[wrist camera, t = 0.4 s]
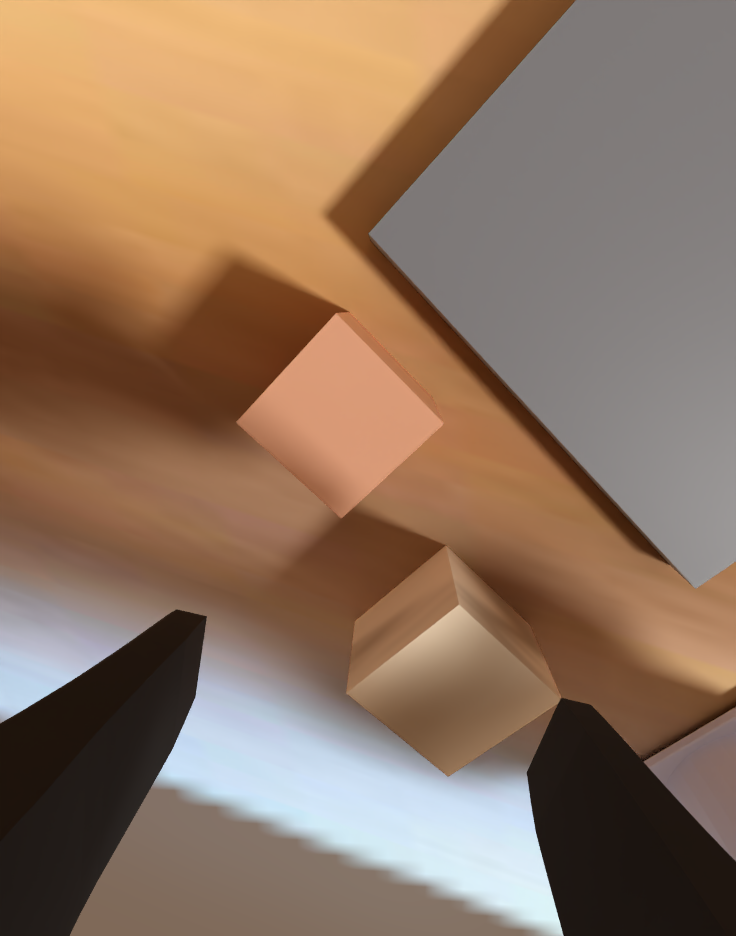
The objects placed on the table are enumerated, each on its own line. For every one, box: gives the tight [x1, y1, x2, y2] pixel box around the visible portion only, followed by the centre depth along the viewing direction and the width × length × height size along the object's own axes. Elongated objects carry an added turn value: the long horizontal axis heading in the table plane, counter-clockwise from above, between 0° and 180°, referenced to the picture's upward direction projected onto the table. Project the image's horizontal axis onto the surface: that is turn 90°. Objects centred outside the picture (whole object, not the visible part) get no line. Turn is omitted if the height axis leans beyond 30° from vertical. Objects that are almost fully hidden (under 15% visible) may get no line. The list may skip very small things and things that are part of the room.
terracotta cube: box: [236, 312, 444, 518], centre depth 15 cm, size 4×4×4 cm
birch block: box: [346, 545, 561, 777], centre depth 18 cm, size 5×5×4 cm
